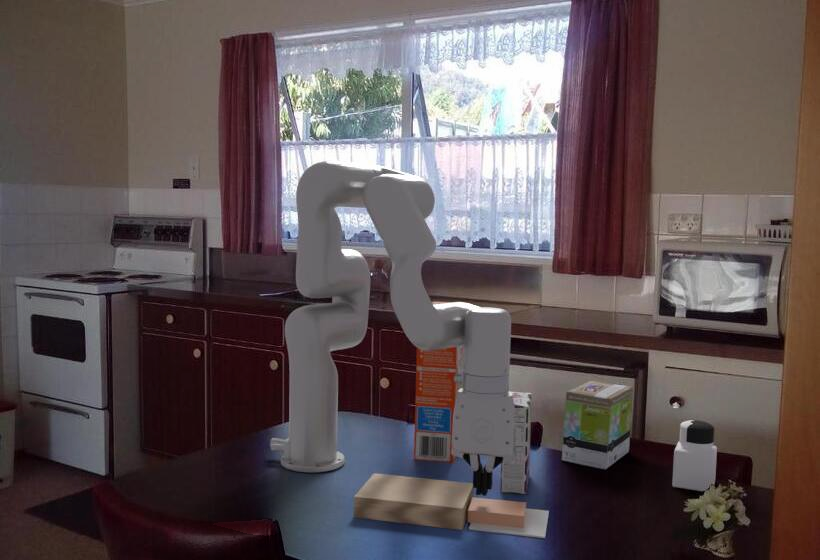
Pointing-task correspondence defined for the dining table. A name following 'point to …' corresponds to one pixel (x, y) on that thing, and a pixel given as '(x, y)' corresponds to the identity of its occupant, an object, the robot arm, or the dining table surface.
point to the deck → (414, 501)
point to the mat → (532, 528)
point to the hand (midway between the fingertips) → (482, 492)
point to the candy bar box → (519, 448)
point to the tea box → (597, 424)
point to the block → (497, 512)
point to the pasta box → (436, 401)
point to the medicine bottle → (695, 456)
